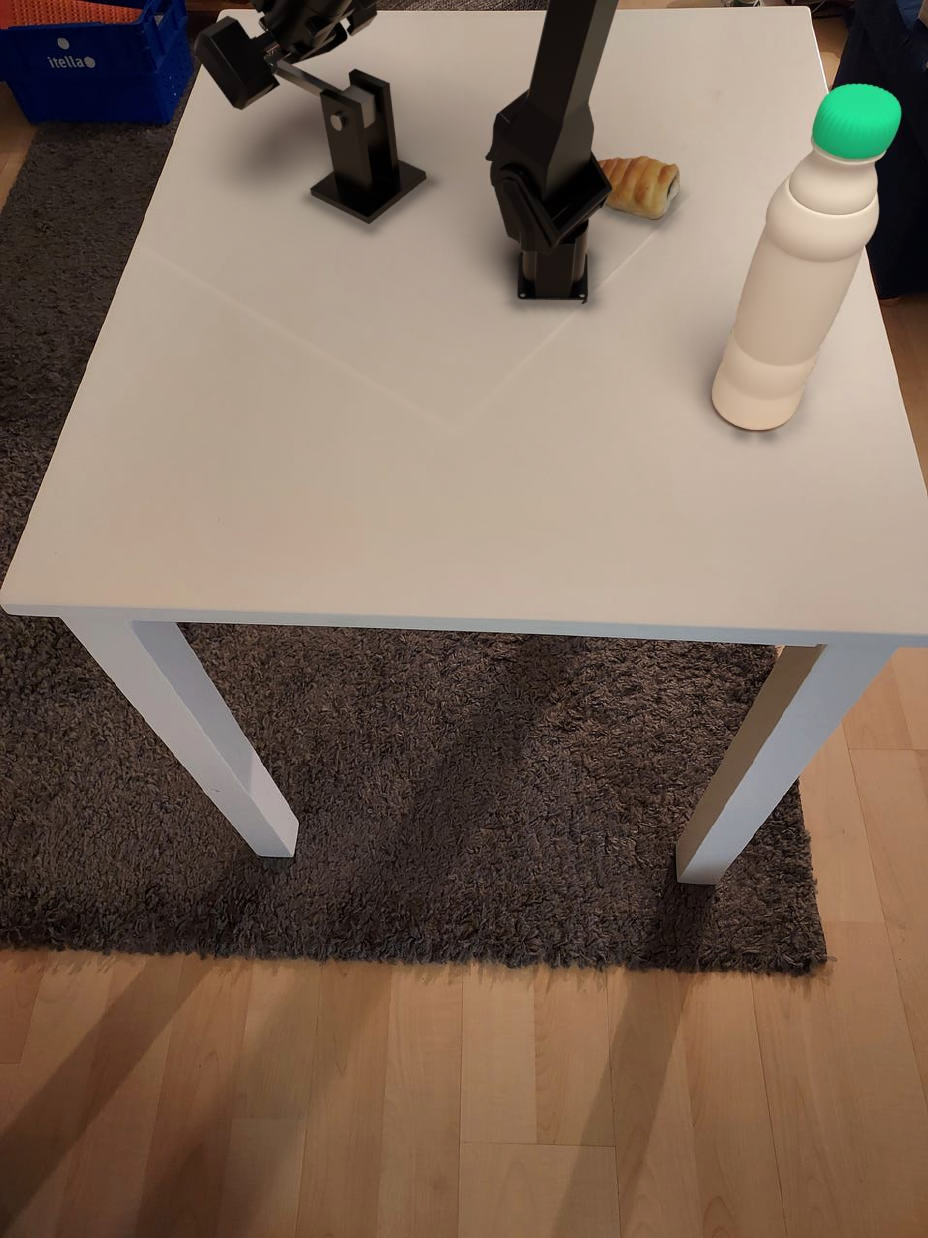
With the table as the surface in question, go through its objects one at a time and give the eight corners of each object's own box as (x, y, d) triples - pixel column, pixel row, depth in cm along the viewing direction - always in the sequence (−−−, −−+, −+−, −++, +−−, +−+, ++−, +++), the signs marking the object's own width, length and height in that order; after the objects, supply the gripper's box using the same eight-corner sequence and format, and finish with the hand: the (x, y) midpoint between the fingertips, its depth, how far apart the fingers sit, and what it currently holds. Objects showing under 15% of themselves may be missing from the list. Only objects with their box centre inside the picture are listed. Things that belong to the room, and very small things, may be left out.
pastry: (571, 205, 84) (575, 169, 81) (595, 167, 87) (598, 131, 84) (661, 227, 82) (668, 191, 79) (682, 187, 85) (689, 151, 82)
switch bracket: (312, 198, 87) (290, 96, 78) (369, 155, 90) (355, 52, 81) (369, 228, 84) (353, 125, 75) (426, 182, 87) (418, 78, 78)
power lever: (245, 83, 83) (239, 58, 81) (284, 58, 85) (279, 33, 83) (350, 139, 79) (347, 114, 77) (388, 111, 81) (386, 86, 79)
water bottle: (799, 380, 72) (929, 74, 50) (790, 441, 69) (925, 143, 47) (716, 365, 73) (808, 60, 51) (703, 425, 70) (796, 126, 48)
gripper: (334, -163, 72) (273, -46, 85) (170, -75, 65) (132, 37, 78) (412, -30, 76) (343, 61, 89) (267, 65, 69) (215, 148, 83)
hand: (261, 74), depth 85 cm, fingers closed on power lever, 5 cm apart
